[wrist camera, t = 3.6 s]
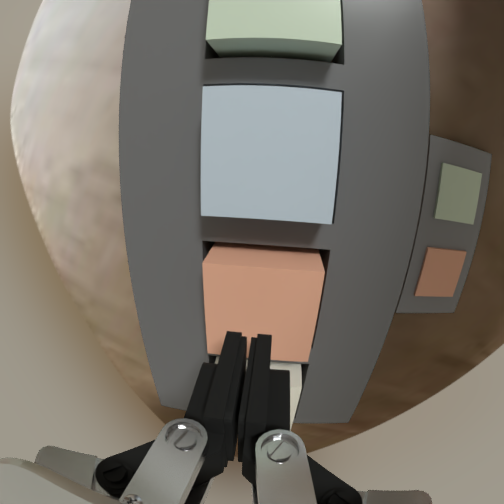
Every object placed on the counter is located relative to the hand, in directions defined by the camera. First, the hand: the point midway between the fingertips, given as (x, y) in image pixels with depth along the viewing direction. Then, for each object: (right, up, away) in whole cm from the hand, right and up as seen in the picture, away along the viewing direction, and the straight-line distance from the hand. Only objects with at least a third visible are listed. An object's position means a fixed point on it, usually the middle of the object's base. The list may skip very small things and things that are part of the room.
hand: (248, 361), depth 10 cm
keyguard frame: (+1, +6, +5) cm, 8 cm away
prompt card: (+12, +5, +4) cm, 14 cm away
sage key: (+1, +15, -1) cm, 15 cm away
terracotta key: (+1, +2, +5) cm, 5 cm away
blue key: (+1, +9, +2) cm, 9 cm away
